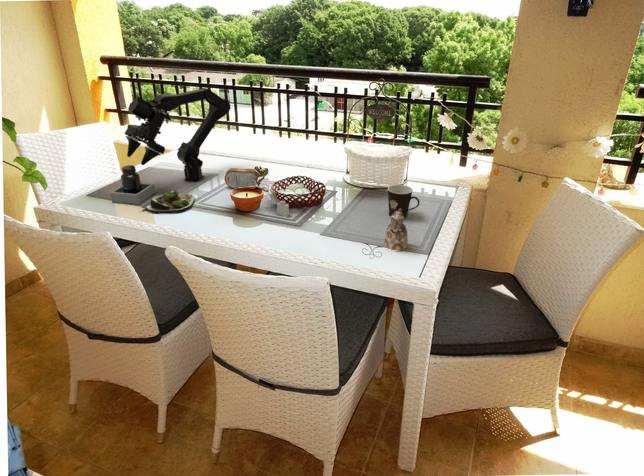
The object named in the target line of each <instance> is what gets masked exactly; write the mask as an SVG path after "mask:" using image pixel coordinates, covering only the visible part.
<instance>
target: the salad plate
mask: <svg viewBox="0 0 644 476" xmlns="http://www.w3.org/2000/svg"><path fill="white" fill-rule="evenodd" d="M195 197H196V196H195V195H194V194H192V193H179V192H178V191H177V190H175V189H174V190H171V191H167V192H165V193H163V194H159V195H156V196H153V197H152V198H151V199H150V201H149V202H147V203H145V204H143V205H142V206H141V209H145V210H147V211H149V212H150V213H153V214H160V215H161V214H166V215H167V214H168V215H169V214H178V213H179V214H180V213H183V212H185V211H188V210H189V209H190V208H191V207H193V203H194V200H195Z"/></svg>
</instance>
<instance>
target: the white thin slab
mask: <svg viewBox="0 0 644 476" xmlns="http://www.w3.org/2000/svg"><path fill="white" fill-rule="evenodd" d="M268 196H269V198H270V199H271V202H272V205H276V215H277V216H280V215H283V216H282V217H285V216H287V217H289V216H290V210H289V209H290V208H289V207H290V206H289V203H286V201H284V200H280V201H279V199H278V197H277V195H276V192H275V191H272V192H270V193H269V194H268ZM288 215H289V216H288Z"/></svg>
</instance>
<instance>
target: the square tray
mask: <svg viewBox="0 0 644 476" xmlns="http://www.w3.org/2000/svg"><path fill="white" fill-rule="evenodd" d="M141 186H142V191H141V192H139V193H138V194H129V193H124V191H123V186H122V185H120V186H119V187H117V188H115V189H114V190H112V191H110V193H109V195H110V197H111V198H110V199H111V203H117V204H125V205H126V204H127V205H137V206H139V205H142V204H143V203H144V202H146V201H147V200H149V199H150V198H152V197H153V196H154V195H156V194H155V193H156V190H155V189H156V188H155V184H154V183H143V182H141ZM152 195H153V196H152Z"/></svg>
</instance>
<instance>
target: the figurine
mask: <svg viewBox="0 0 644 476" xmlns="http://www.w3.org/2000/svg"><path fill="white" fill-rule="evenodd" d="M404 219H405V218H404V216H403V213H402V209H399V210H398V211H396V212H394V213H393V214H392V216H391V217H390V224H388V226H387V228H386V231H385V232H386V233H385V237H384V243H383V244H384V246H385V245H386V247H387V248H388V249H391V250H403V251H404V249H405V248H406V249H407V247H408V242H409V241H408V238H409V237H408V229H407V227H406V224H404ZM386 247H385V248H386ZM387 248H386V249H387ZM388 249H387V250H388ZM406 249H405V250H406ZM391 250H390V251H391Z"/></svg>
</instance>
